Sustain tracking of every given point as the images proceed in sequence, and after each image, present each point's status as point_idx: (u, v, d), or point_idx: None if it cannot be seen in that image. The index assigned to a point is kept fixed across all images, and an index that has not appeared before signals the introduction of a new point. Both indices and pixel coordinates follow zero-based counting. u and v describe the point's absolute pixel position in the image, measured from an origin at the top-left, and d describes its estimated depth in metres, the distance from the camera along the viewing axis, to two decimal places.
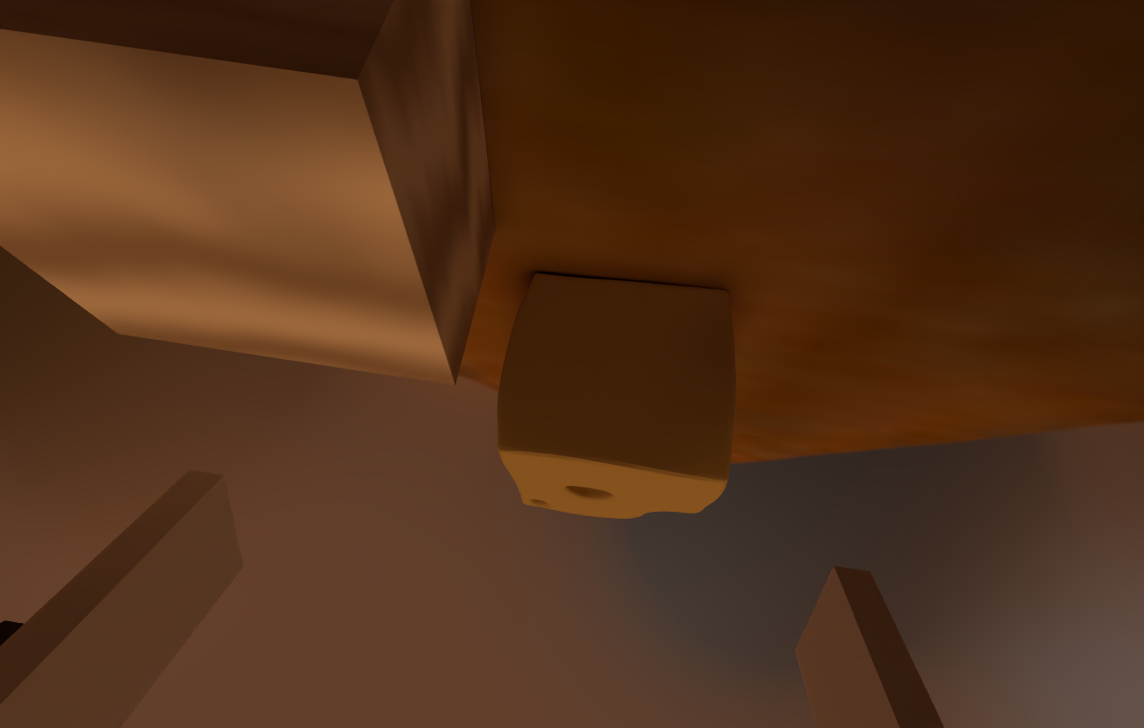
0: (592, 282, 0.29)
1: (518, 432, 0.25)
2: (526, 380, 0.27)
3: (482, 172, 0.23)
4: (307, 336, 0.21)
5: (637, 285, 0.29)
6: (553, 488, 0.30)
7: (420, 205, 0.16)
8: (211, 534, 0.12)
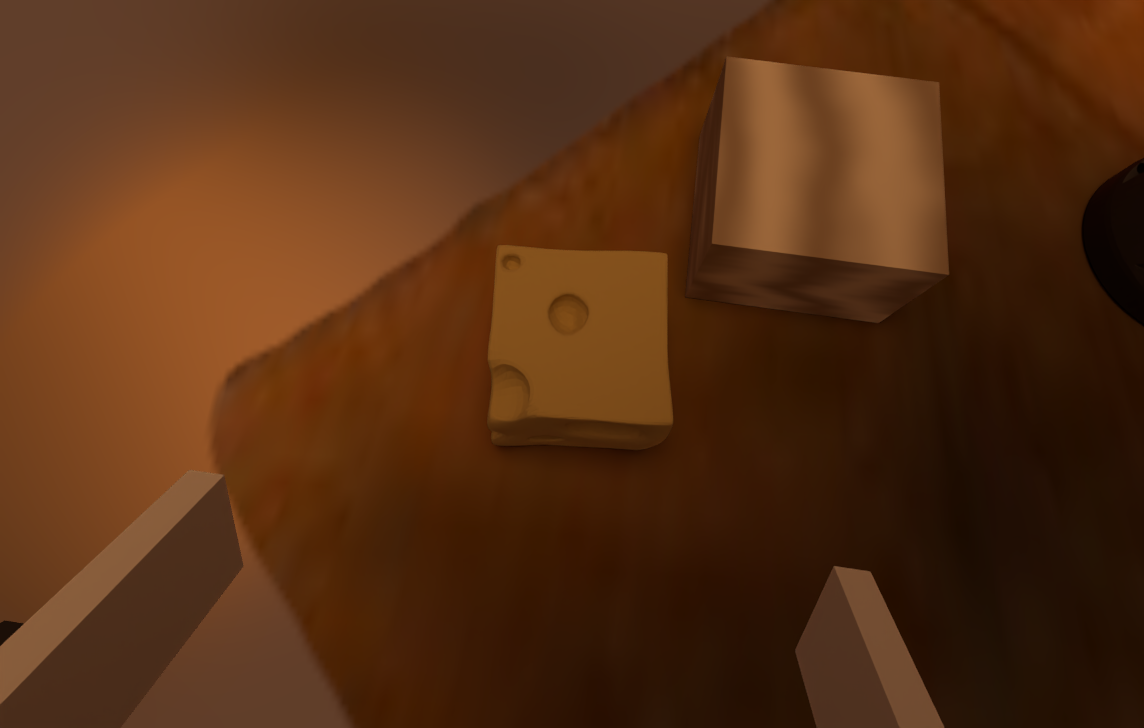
0: None
1: None
2: None
3: (751, 300, 0.41)
4: (757, 174, 0.36)
5: None
6: (573, 282, 0.32)
7: (858, 272, 0.35)
8: (211, 534, 0.12)
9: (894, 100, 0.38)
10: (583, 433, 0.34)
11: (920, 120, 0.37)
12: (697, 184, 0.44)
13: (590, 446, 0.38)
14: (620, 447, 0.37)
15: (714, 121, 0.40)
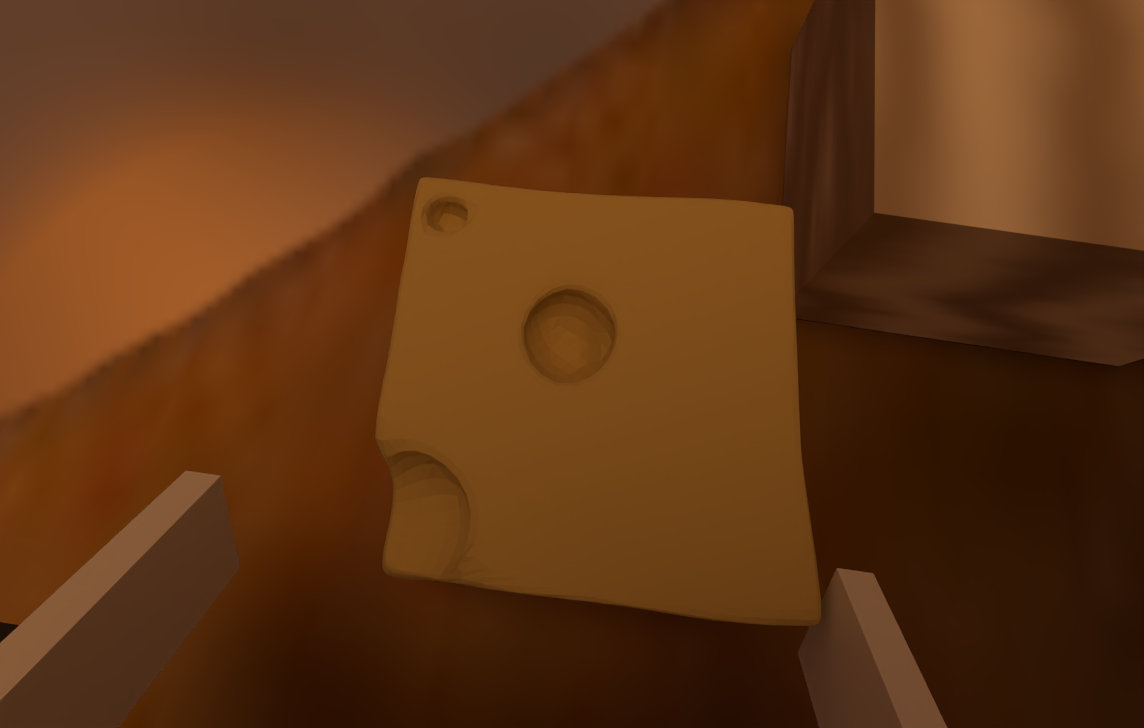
0: None
1: None
2: None
3: (897, 324, 0.23)
4: (956, 78, 0.18)
5: None
6: (583, 263, 0.14)
7: None
8: (208, 535, 0.12)
9: None
10: None
11: None
12: (794, 123, 0.26)
13: None
14: None
15: None
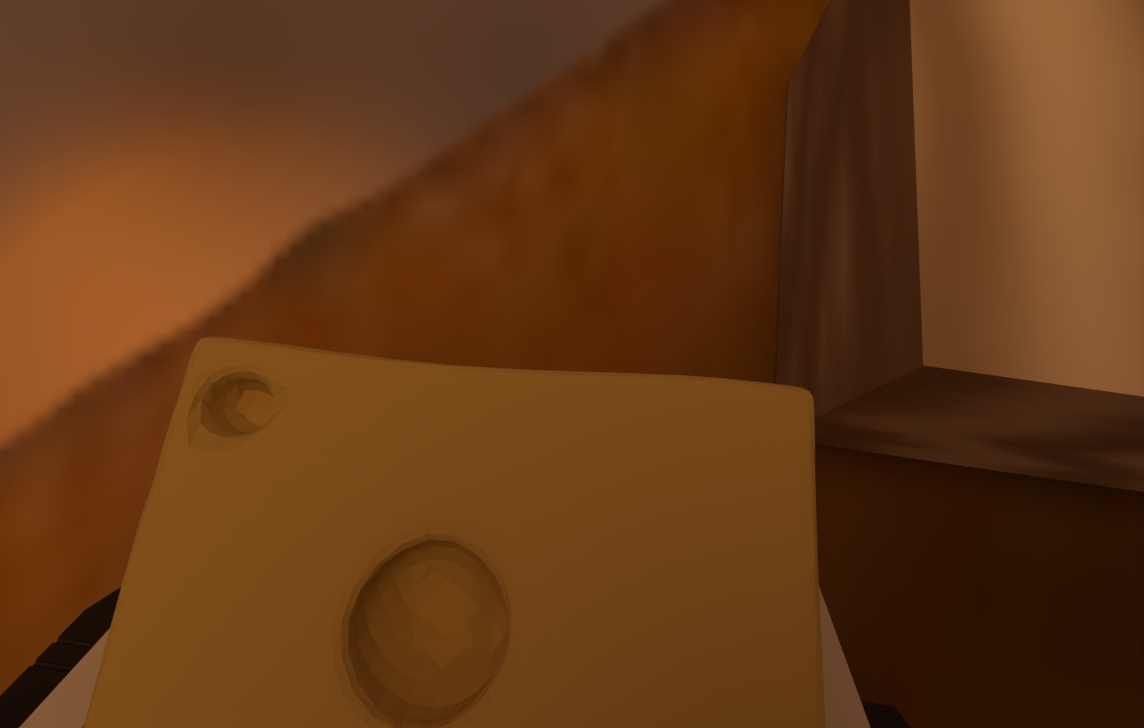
0: None
1: None
2: None
3: (933, 455, 0.18)
4: (1032, 150, 0.12)
5: None
6: (459, 498, 0.08)
7: None
8: None
9: None
10: None
11: None
12: (793, 182, 0.20)
13: None
14: None
15: (860, 26, 0.16)
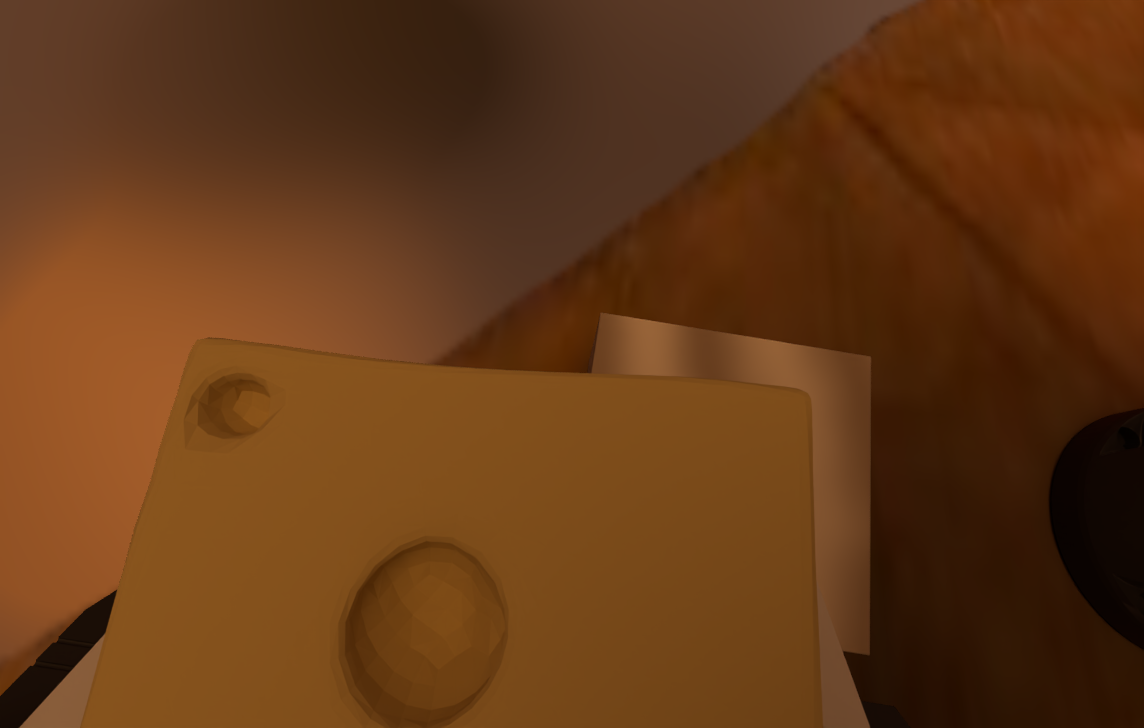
0: None
1: None
2: None
3: None
4: None
5: None
6: (456, 499, 0.08)
7: None
8: None
9: (812, 382, 0.29)
10: None
11: (844, 412, 0.29)
12: None
13: None
14: None
15: None
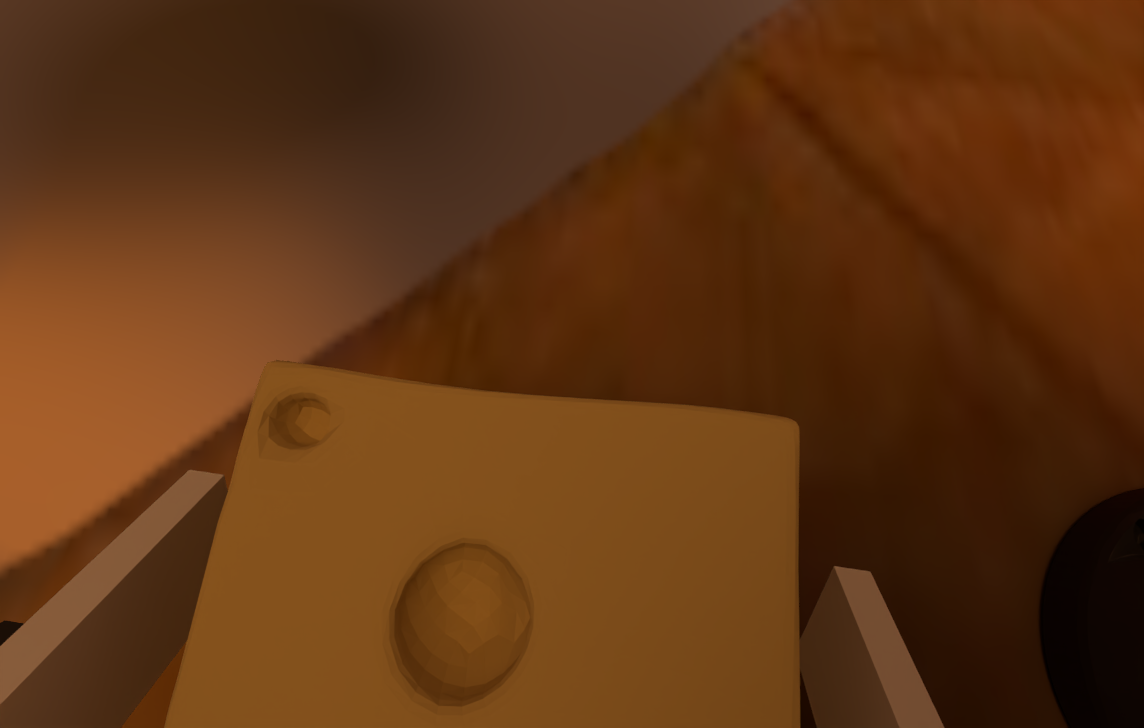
0: None
1: None
2: None
3: None
4: None
5: None
6: (490, 507, 0.10)
7: None
8: (211, 534, 0.12)
9: None
10: None
11: None
12: None
13: None
14: None
15: None
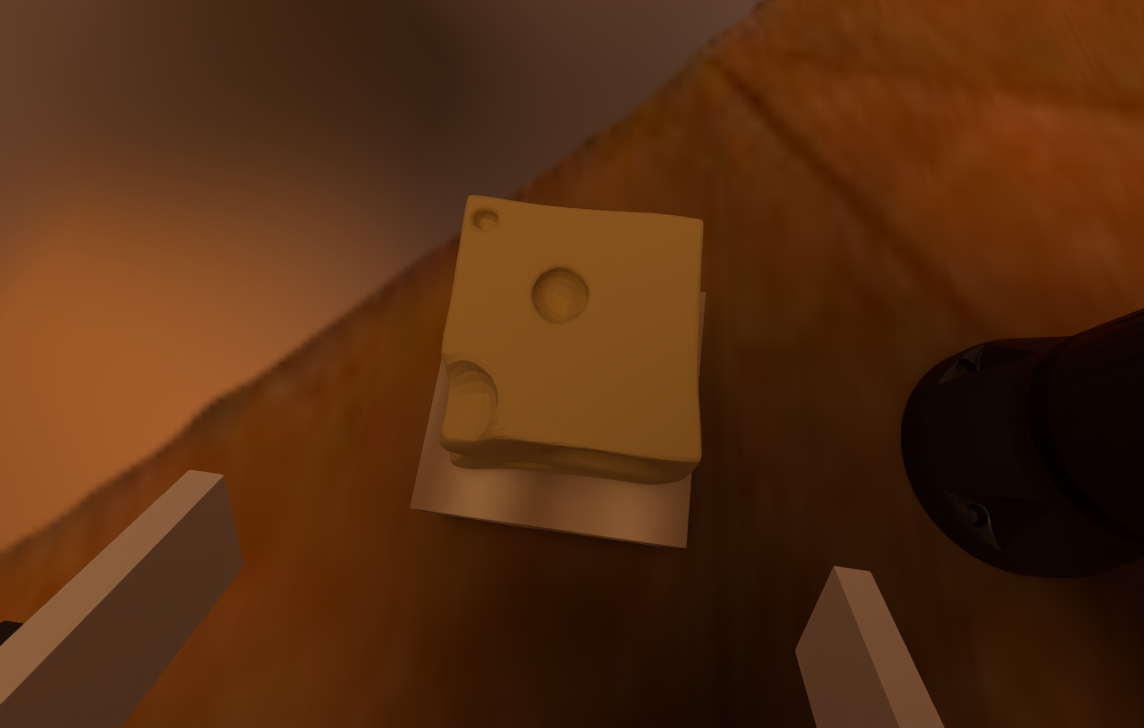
0: None
1: None
2: None
3: None
4: None
5: None
6: (570, 251, 0.23)
7: None
8: (211, 534, 0.12)
9: None
10: (572, 461, 0.25)
11: None
12: None
13: (582, 475, 0.29)
14: (622, 480, 0.28)
15: None
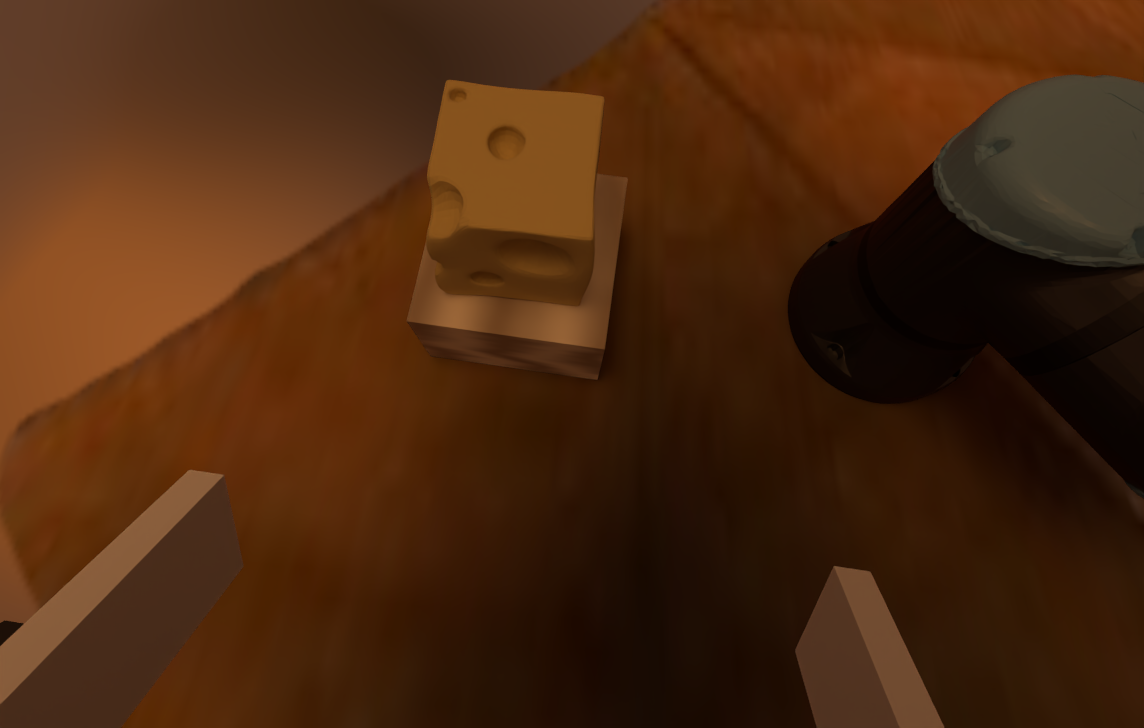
0: None
1: None
2: None
3: (483, 360, 0.47)
4: None
5: None
6: (513, 115, 0.34)
7: (538, 345, 0.42)
8: (211, 534, 0.12)
9: None
10: (518, 269, 0.37)
11: (605, 211, 0.43)
12: None
13: (531, 298, 0.41)
14: (557, 294, 0.39)
15: None
